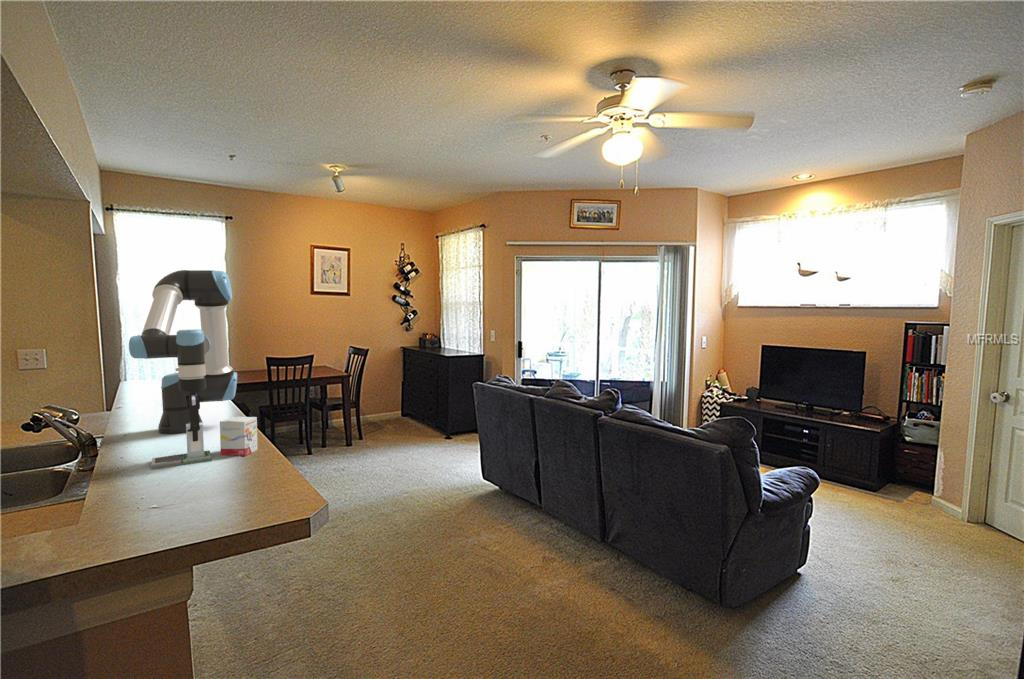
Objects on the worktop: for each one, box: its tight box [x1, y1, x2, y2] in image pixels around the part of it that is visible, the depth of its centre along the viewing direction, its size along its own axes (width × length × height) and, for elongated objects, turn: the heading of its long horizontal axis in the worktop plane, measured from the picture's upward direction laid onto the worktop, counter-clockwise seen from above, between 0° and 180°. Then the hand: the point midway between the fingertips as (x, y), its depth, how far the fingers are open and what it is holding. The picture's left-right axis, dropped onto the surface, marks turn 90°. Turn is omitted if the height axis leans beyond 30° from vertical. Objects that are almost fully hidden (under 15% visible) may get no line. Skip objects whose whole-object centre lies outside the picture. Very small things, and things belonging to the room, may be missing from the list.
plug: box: [185, 421, 205, 459], centre depth 166 cm, size 4×4×12 cm
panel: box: [150, 450, 213, 471], centre depth 164 cm, size 13×16×2 cm
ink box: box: [219, 416, 258, 457], centre depth 174 cm, size 9×9×12 cm
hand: (195, 448), depth 166 cm, fingers open, 7 cm apart
